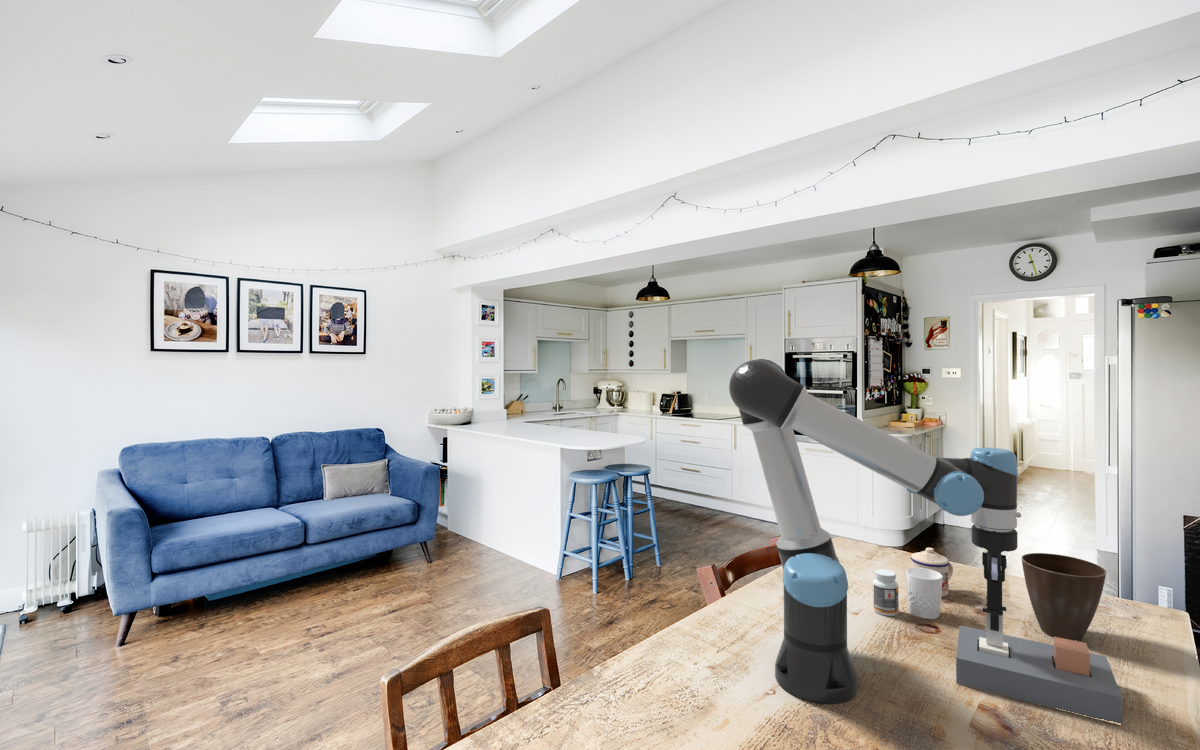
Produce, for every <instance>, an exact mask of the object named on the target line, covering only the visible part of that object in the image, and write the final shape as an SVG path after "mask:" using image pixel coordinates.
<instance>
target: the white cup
mask: <svg viewBox="0 0 1200 750" xmlns="http://www.w3.org/2000/svg"><path fill="white" fill-rule="evenodd" d="M905 577H906V578H905V581H906V583H905V585H906V597H907V598H906V599H907V608H908V609H907V610H908V613H910V614H911V615H912V616H915V617H917V618H921V619H924V620H925V619H926V620H936V619H939V618H940V616H941V606H942V605H941V604H942V598H943V597H942V579H943V576H942V575H941V574H940V573H939V572H936V571H934V570H930V569H925V568H912V567H910V568H907V569H906V570H905Z"/></svg>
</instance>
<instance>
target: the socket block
mask: <svg viewBox="0 0 1200 750" xmlns="http://www.w3.org/2000/svg"><path fill="white" fill-rule="evenodd" d="M958 628H959V629H958V637H957V648H956V649H957V650H956V657H955V661H956V662H955V665H956V666H955V669H956V670H955V674H956V675H955V684H958V685H962V686H965V687H969V688H973V689H977V690H980V691H985V692H989V693H993V694H996V695H1001V696H1005V697H1008V698H1011V699H1015V700H1020V701H1024V702H1027V703H1030V702H1031V704H1034V705H1038V704H1040V705H1039V706H1042V705H1044V706H1043V707H1046V706H1049V707H1048V708H1050V707H1052V708H1051V709H1053V708H1058V709H1061V710H1062V709H1063V710H1066V711H1070V712H1074V713H1078V714H1081V715H1086V716H1089V717H1093V718H1098V719H1104V720H1107V721H1113V722H1117V723H1122V724H1123V697H1122V696H1123V695H1122V694H1121V691H1120V689H1119V686H1118V683H1117V681H1116V678H1115V675H1114V673H1113V670H1112V668H1111V665H1110V662H1109V660H1108V658H1107V656H1106V655H1102V654H1097V653H1092V652H1089V653H1090V677H1089V676H1085V675H1081V674H1076V673H1072V672H1068V671H1063V670H1059V669H1055V668H1054V644H1050V643H1046V642H1045V643H1044V642H1040V641H1035V640H1030V639H1026V638H1023V637H1022V638H1021V637H1017V636H1012V635H1008V634H1003V642H1005V643H1008V651H1009V658H1007V657H1002V656H998V655H994V654H989V653H985V652H981V651H979V637H982V638H986V630H984V629H980V628H975V627H974V628H973V627H971V626H965V625H960V624H959V627H958ZM1061 710H1060V711H1061Z"/></svg>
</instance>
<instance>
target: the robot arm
mask: <svg viewBox="0 0 1200 750" xmlns="http://www.w3.org/2000/svg"><path fill="white" fill-rule="evenodd" d="M728 391H729V395H730V398H731V400H732V402H733V404H734V405H735V406H736V407H737V408H738V411H739V412H738V413H739V414H740V417H741V418H740V419H741V422H742V426H744V427H745V428H747V429H749V430H750V431H751V433H752V436H753V438H754V443H755V447H756V450H757V454H758V458H759V460H760V461H759V462H760V465H761V469H762V472H763V475H764V480H765V482H766V486H767V489H768V492H769V497H770V501H771V503H772V508H773V510H774V511H773V512H774V514H775V518H776V522H777V526H778V528H779V532H780V536H779V538H778V539H777V541H776V543H775V544H776V548H777V551H778V556H779V559H780V563H781V567H782V570H783V571H782V583H783V639H782V643H781V645H780V648H779V650H778V651H779V652H778V653H777V656H776V660H775V663H774V664H775V665H774V676H775V680H776V681H777V683H778V684H779V686H780V687H781V688H782V689H783V690H785V691H787V692H788V693H790V694H791V695H793V696H796V697H797V698H799V699H803V700H806V701H809V702H814V703H820V704H839V703H840V704H841V703H843V702H847V701H850V700H851V699H852V698H853V699H854V697H855V695H856V694H857V693H858V676H857V672H856V669H855V667H854V664H853V661H852V657H851V654H850V652H849V648H848V590H849V582H848V581H849V580H848V577H847V572H846V569H845V568H844V566H843V565H842V564H841V562H840V560H839V558H838V556H837V553H836V549H835V546H834V542H833V540H832V536H831V534H830V532H828V531H827V530H825V529H824V528H822V527H821V524H820V519H819V517H818V513H817V509H816V506H815V503H814V499H813V495H812V493H811V489H810V485H809V482H808V478H807V474H806V470H805V468H804V467H805V466H804V463H803V459H802V456H801V453H800V450H799V446H798V442H797V438H796V436H795V435H796V434H795V432H794V431H796V432H798V433H800V434H802V435H803V436H805V437H807V438H809V439H811V440H813V441H816V443H819V444H821V445H823V446H824V447H827V448H829V449H830V450H832V451H834V452H837V453H838V454H840V455H842V456H844V457H846V458H848V459H849V460H852V461H854V462H856V463H857V464H860V465H861V466H863V467H865V468H866V469H867V468H868V470H871V471H872V472H875V473H877V474H878V475H881V476H883V477H884V478H885V479H888V480H890V481H892V482H894V483H896V484H898V485H900V486H902V487H903V488H905V490H906V491H907V492H908V493H909V494H917V495H919V497H922V498H924V499H926V500H928V501H929V502H932V503H934V504H935V505H937V506H938V507H939V508H940V509H941V510H942V511H944V512H946V513H948V514H950V515H953V516H957V517H964V516H965V517H966V516H970V520H971V521H970V522H971V523H972V526H971V543H972V544H973V545H974V546H976V547H978V548H981V549H985V550H986V552H984V551H982V557H981V558H982V559H981V561H982V566H983V577H984V579H985V580H986V597H985V600H986V604H985V606H986V607H982V613H985V614H986V615H985V619H986V620H985V623H986V624H985V627H986V629H985V631H986V644H990V645H994V646H999V647H1003V635H1004V631H1003V630H1004V627H1003V626H1004V622H1003V621H1004V612H1007V606H1003V582H1005V580H1006V569H1007V567H1008V566H1007V565H1008V564H1007V554H1006V555H1004V554H1002V553H1003V552H1006V553H1007V552H1008V553H1009V552H1013V551H1016V550H1017V549H1018V531H1017V530H1016V528H1018V518H1022V513H1021V512H1018V476H1019V473H1018V461H1017V456H1016V454H1015V453H1014V452H1013V451H1011V450H1009V449H1005V448H998V447H976V448H973V449H972V450H971V451H970V453H971V454H970V455H969V457H965V458H957V457H956V458H955V457H935V456H933V455H931V454H929V453H927V452H925V451H923V450H921V449H919V448H917V447H915V446H913V445H911V444H909V443H907V442H906V441H903V440H901V439H899V438H897V437H895V436H893V435H892V434H889V433H887V432H885V431H884V430H882V429H879V428H877V427H875V426H873V425H871V424H869V423H868V422H866V421H863V420H861V419H860V418H858V417H855V416H854V415H852V414H849V413H848V412H846V411H844V410H841V409H840V408H837V407H836V406H833V405H831V404H829V403H827V402H826V401H824V400H822V399H819V398H817V397H816V396H814V395H812V394H810V393H809V392H808V391H807V387H806V386H805V385H804V384H802V383H800V382H798V381H795V380H794V379H792V378H791V377H790V376H788V375H787V373H786V372H785V370H784V369H783V368H782V367H781V366H780V365H779V364H778V363H777V362H775V361H772V360H769V359H765V358H759V359H757V358H756V359H752V360H748V361H746V362H744V363H742V364H740V365H739V366H738V367H737V368H736V369H734V371H733V373H732V375H731V377H730V379H729V385H728Z"/></svg>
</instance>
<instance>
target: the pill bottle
mask: <svg viewBox="0 0 1200 750" xmlns="http://www.w3.org/2000/svg"><path fill="white" fill-rule="evenodd" d="M874 576H875V578H874V579H873V582H872V606H873V607H872V608H873V610H874V611H875V612H876V613H878V614H880V615H882V616H887V617H894V616H897V615H898V614H899V613H900V612H899V610H900V609H899V602H900V601H899V584H898V582H897V581H896V579H897V573H896V572H895V571H893V570H890V569H884V568H883V569H882V568H880V569H876V570H875V571H874Z"/></svg>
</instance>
